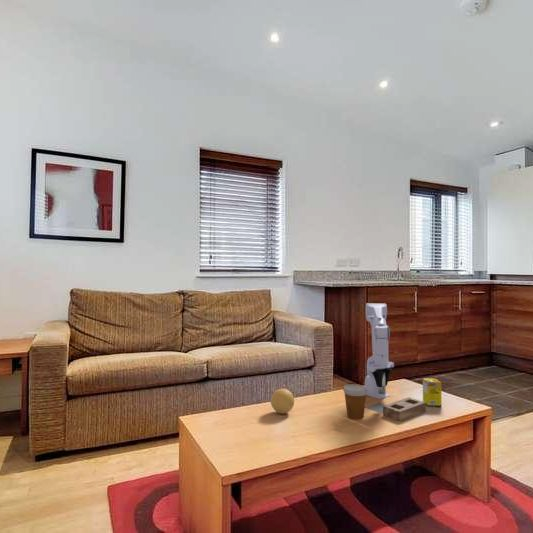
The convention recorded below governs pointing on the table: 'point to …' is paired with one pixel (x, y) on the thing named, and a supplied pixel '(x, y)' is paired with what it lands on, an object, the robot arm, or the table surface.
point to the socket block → (404, 409)
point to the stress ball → (282, 401)
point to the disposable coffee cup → (355, 400)
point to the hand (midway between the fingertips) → (381, 386)
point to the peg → (382, 389)
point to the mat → (376, 407)
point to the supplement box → (432, 392)
